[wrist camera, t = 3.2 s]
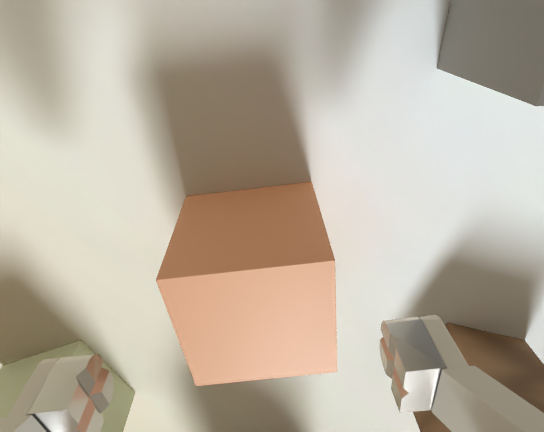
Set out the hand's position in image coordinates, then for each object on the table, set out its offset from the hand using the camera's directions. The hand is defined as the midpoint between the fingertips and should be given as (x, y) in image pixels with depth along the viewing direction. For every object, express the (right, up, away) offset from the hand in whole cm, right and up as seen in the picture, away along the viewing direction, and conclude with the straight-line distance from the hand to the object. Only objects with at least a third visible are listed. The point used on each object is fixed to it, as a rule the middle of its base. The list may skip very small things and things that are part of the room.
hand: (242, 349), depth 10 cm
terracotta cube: (0, +3, +5) cm, 6 cm away
